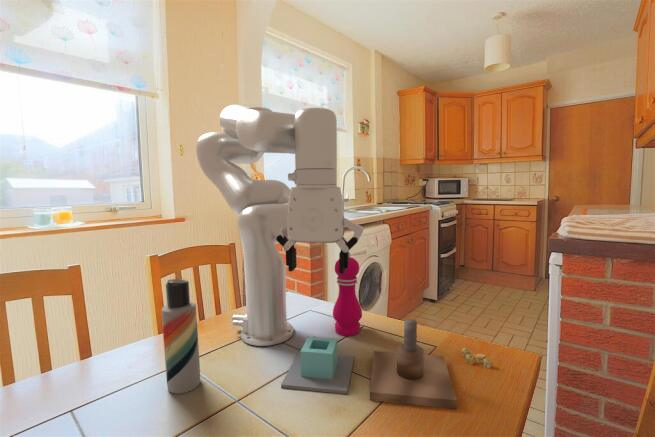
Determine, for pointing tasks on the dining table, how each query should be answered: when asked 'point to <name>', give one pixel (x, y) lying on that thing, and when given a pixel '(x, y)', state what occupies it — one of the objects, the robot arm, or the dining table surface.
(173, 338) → the lotion bottle
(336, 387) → the mat
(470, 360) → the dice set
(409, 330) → the stand
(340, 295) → the pepper mill
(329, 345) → the collar
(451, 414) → the dining table surface
